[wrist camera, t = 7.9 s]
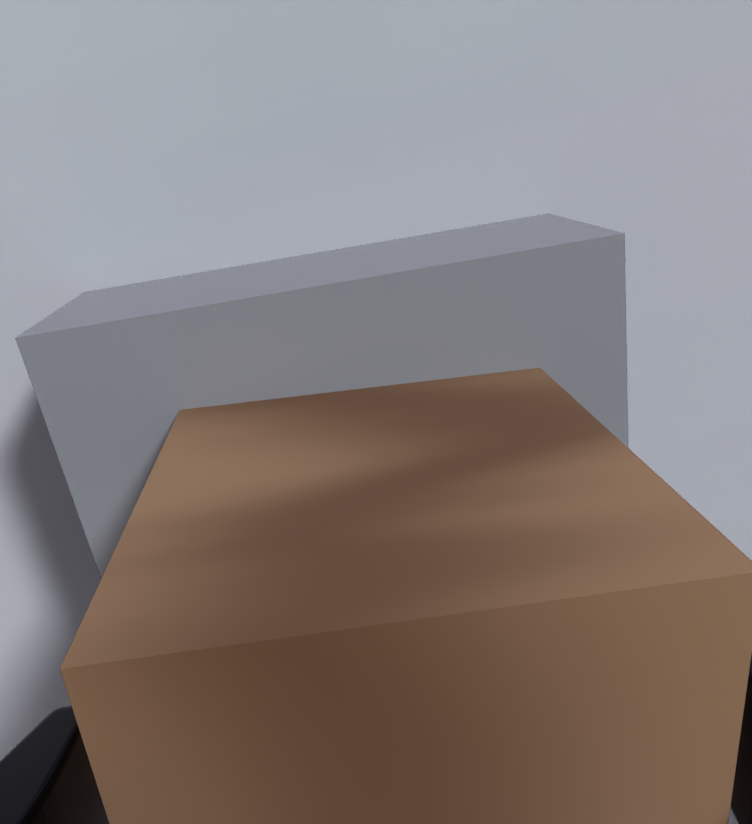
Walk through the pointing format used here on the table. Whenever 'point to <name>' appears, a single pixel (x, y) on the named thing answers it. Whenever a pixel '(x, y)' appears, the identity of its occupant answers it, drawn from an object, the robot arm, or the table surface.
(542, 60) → the table surface
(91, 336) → the slate block
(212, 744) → the walnut cube
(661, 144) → the table surface
